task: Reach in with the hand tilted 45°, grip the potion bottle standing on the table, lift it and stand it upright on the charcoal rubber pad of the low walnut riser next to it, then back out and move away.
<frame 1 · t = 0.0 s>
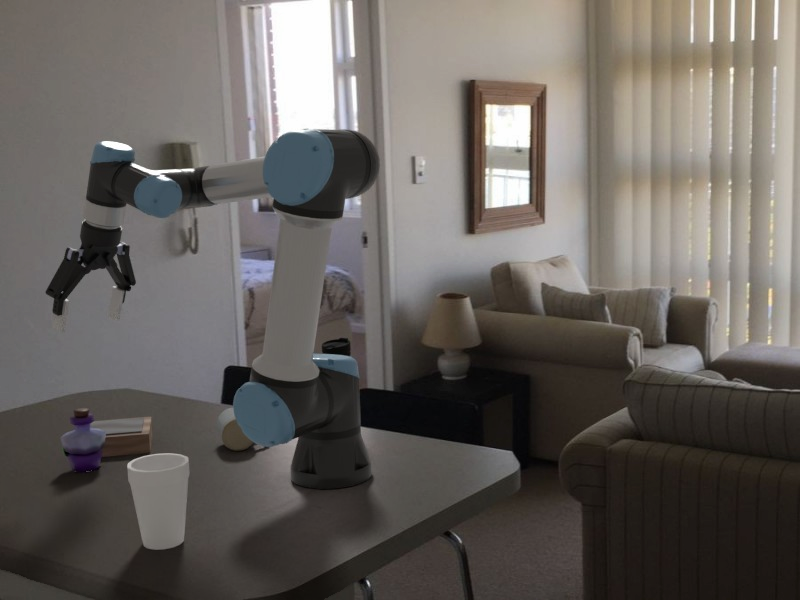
hand: (86, 323, 197), 28 cm above the table, tool tilted 20°, fingers open, 13 cm apart
foam cup: (163, 542, 157), on the table
travel mug: (340, 431, 217), on the table
potion bottle: (86, 469, 196), on the table
walnut riser: (117, 446, 211), on the table
ceramic mug: (244, 447, 208), on the table
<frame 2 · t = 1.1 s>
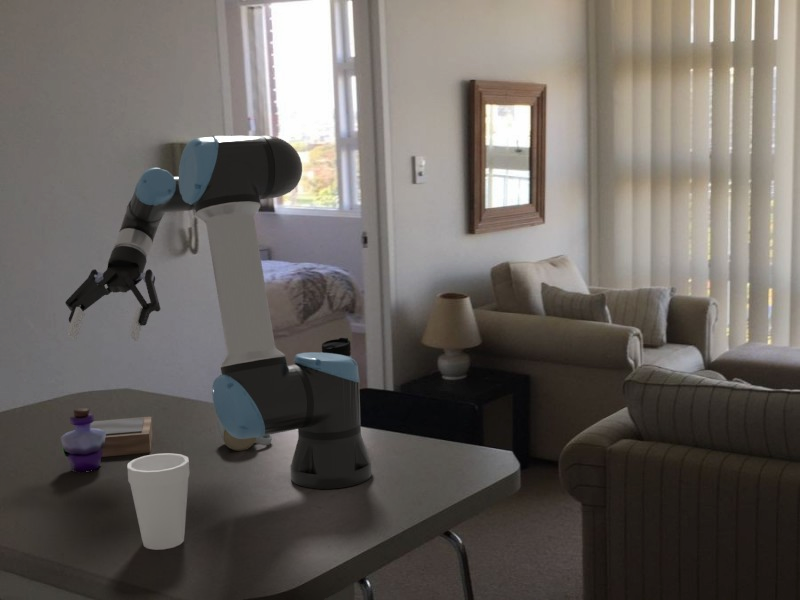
hand: (102, 337, 203), 24 cm above the table, tool tilted 45°, fingers open, 13 cm apart
nothing on the table moved.
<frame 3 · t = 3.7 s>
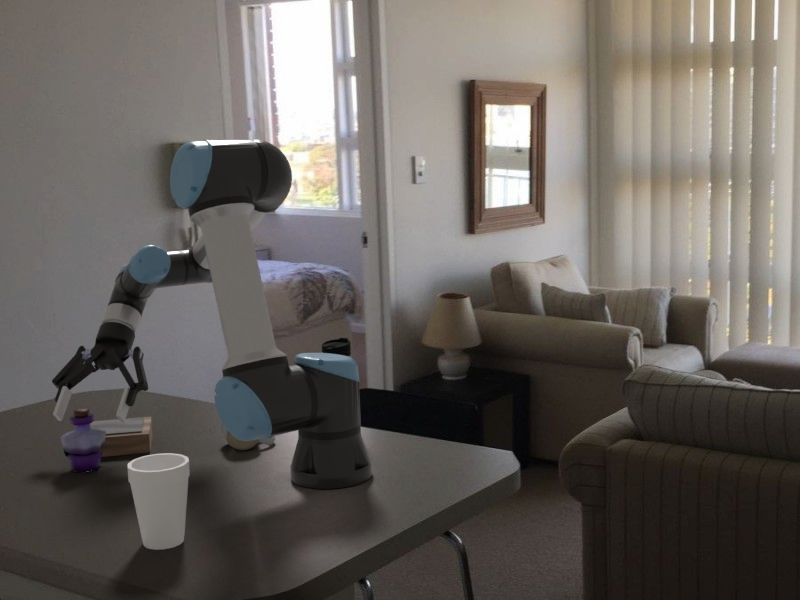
hand: (88, 418, 199), 9 cm above the table, tool tilted 45°, fingers open, 13 cm apart
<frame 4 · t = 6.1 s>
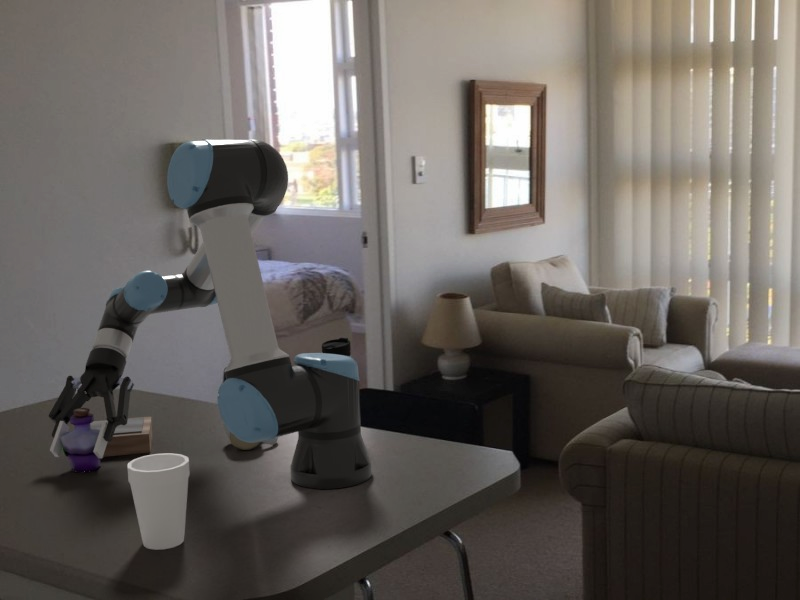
hand: (76, 454, 192), 4 cm above the table, tool tilted 45°, fingers closed on potion bottle, 8 cm apart
potion bottle: (86, 469, 196), on the table, touching gripper
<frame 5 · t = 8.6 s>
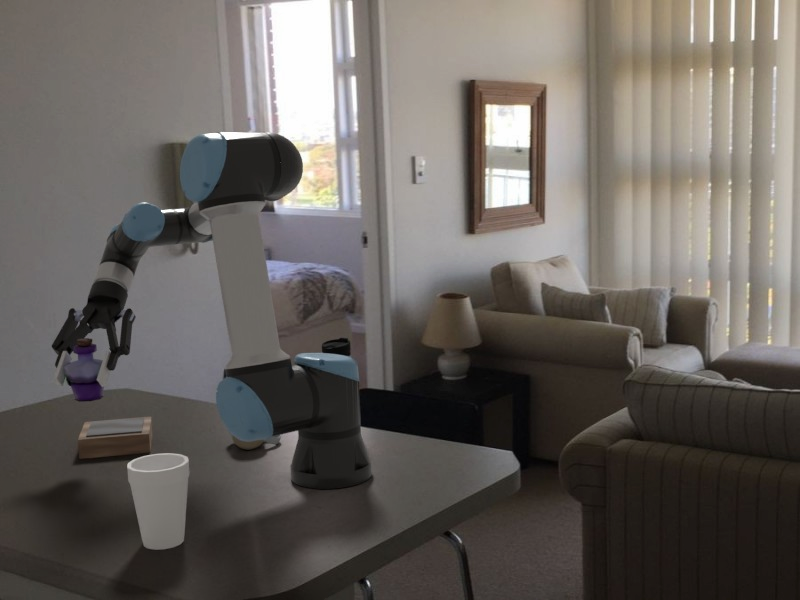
hand: (79, 382, 194), 17 cm above the table, tool tilted 45°, fingers closed on potion bottle, 8 cm apart
potion bottle: (89, 399, 198), point 13 cm above the table, touching gripper
when the fingers open (10 cm above the table, at t = 11.0 s): potion bottle drops 1 cm, resting on walnut riser.
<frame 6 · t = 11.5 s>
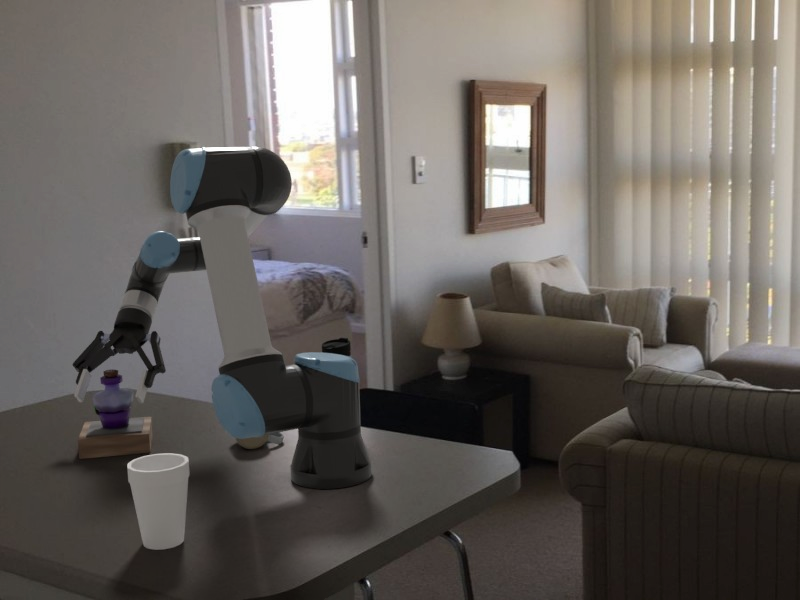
hand: (108, 399, 207), 11 cm above the table, tool tilted 45°, fingers open, 13 cm apart
potion bottle: (115, 426, 210), point 4 cm above the table, touching walnut riser
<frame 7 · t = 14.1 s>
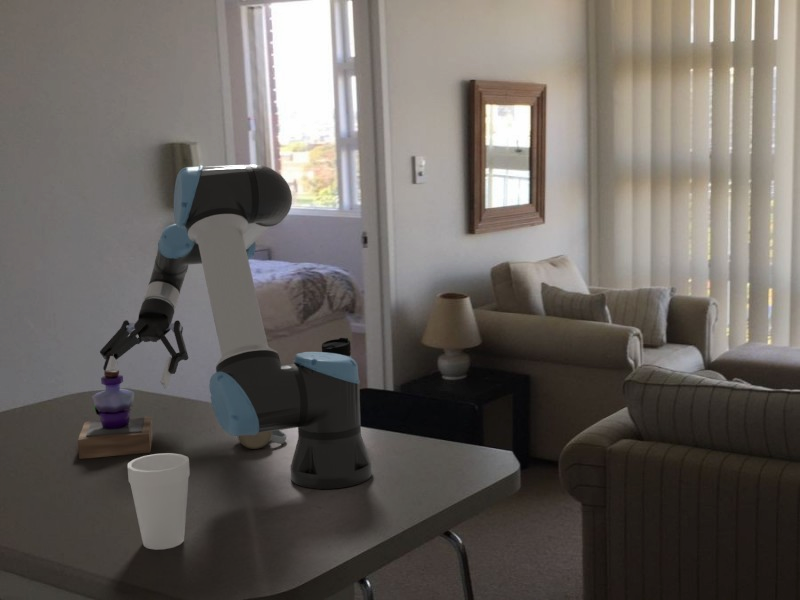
hand: (134, 384, 219), 11 cm above the table, tool tilted 45°, fingers open, 13 cm apart
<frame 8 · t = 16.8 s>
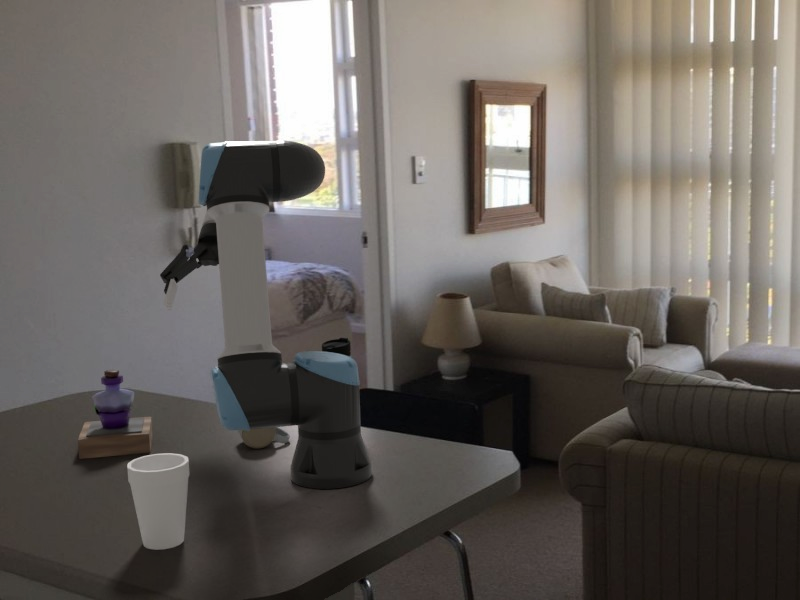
hand: (196, 306, 217), 28 cm above the table, tool tilted 45°, fingers open, 13 cm apart
at the end: potion bottle inside the target area on the walnut riser (0.1 cm from its centre), point 4.1 cm above the walnut riser's base; potion bottle tilted 0°; the gripper is holding nothing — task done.
